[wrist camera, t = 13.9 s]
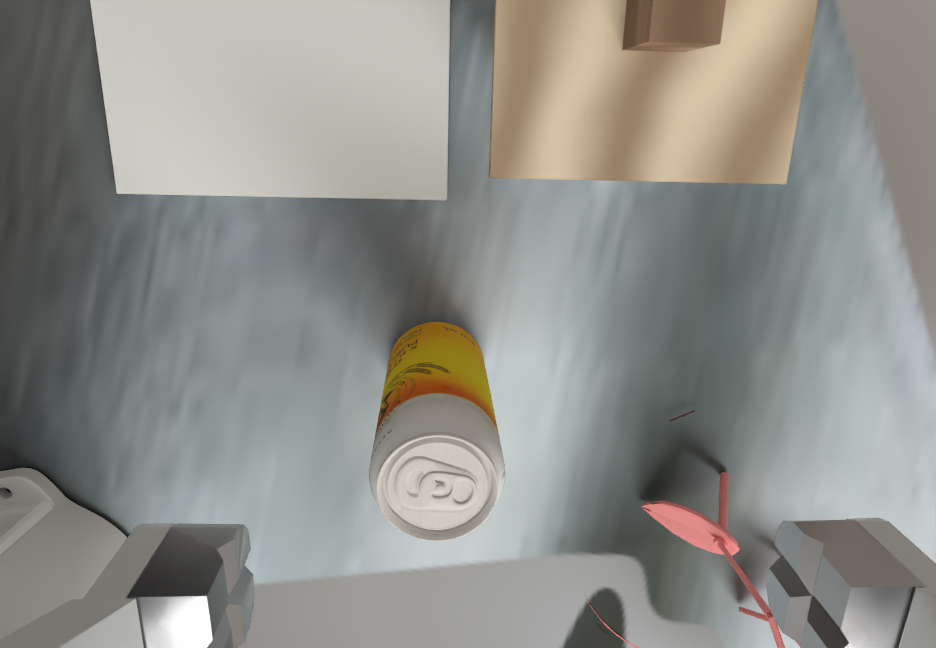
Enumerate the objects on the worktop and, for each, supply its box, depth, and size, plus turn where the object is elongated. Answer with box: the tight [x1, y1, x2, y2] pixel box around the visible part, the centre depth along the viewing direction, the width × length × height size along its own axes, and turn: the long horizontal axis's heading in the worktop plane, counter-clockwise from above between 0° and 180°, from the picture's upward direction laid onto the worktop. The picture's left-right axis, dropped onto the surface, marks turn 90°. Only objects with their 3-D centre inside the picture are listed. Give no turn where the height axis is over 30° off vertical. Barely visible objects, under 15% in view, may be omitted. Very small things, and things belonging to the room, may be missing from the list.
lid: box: [489, 0, 818, 184], centre depth 29 cm, size 15×15×5 cm
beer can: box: [369, 322, 505, 541], centre depth 35 cm, size 6×6×15 cm
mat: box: [90, 0, 450, 200], centre depth 35 cm, size 19×19×1 cm
